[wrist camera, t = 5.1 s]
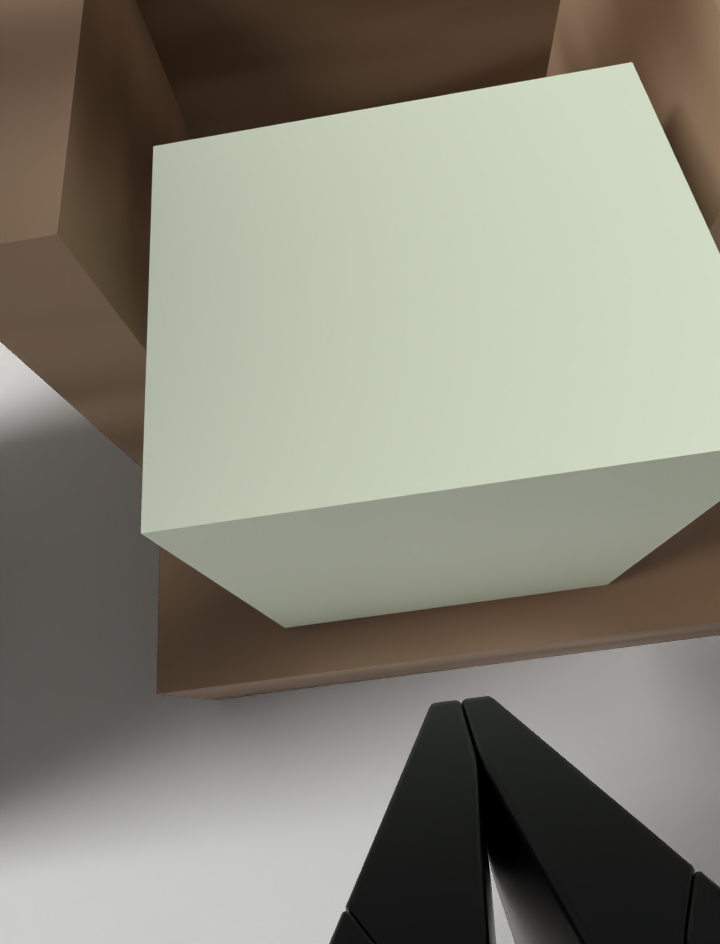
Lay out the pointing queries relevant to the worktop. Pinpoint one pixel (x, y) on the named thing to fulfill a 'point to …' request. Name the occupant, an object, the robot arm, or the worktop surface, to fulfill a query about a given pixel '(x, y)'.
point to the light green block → (430, 350)
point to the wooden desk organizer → (276, 102)
